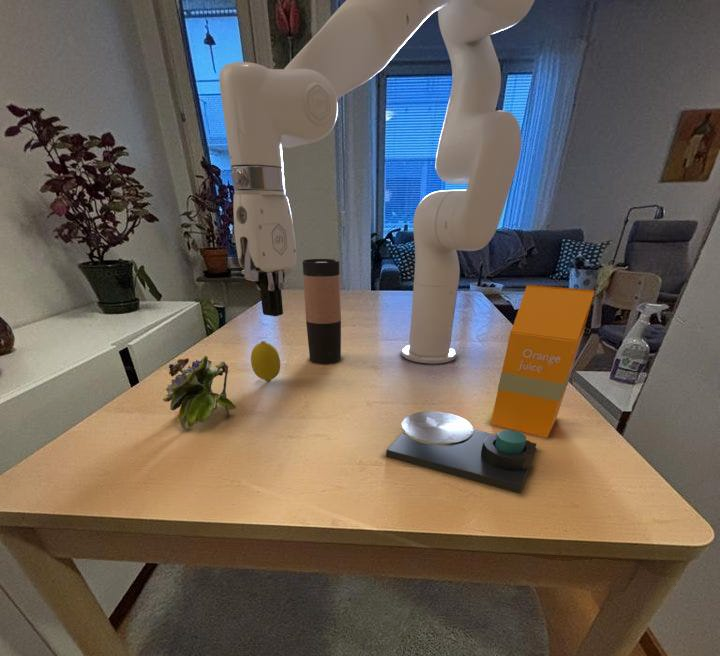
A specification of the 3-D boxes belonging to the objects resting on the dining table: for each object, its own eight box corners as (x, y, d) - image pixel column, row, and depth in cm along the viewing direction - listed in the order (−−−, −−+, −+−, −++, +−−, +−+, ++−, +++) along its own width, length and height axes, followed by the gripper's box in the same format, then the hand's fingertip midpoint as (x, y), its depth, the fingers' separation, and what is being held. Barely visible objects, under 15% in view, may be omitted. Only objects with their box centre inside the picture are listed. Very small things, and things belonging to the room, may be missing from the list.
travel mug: (302, 361, 89) (294, 261, 78) (318, 352, 95) (313, 258, 84) (333, 366, 87) (329, 263, 76) (347, 356, 93) (345, 259, 81)
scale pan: (416, 408, 61) (417, 406, 61) (481, 422, 57) (481, 420, 57) (389, 435, 54) (390, 432, 54) (461, 453, 50) (461, 450, 50)
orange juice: (547, 438, 60) (592, 294, 48) (489, 424, 63) (518, 288, 52) (556, 419, 65) (598, 286, 54) (503, 407, 69) (532, 281, 58)
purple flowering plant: (197, 438, 70) (194, 372, 71) (252, 433, 68) (249, 364, 68) (149, 429, 59) (146, 351, 60) (213, 422, 57) (209, 340, 57)
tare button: (498, 439, 54) (500, 427, 53) (525, 445, 53) (528, 433, 52) (492, 450, 51) (494, 438, 50) (520, 457, 50) (524, 445, 49)
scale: (417, 423, 64) (419, 406, 62) (536, 451, 56) (542, 432, 55) (385, 457, 55) (386, 438, 53) (521, 494, 48) (527, 474, 46)
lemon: (276, 388, 76) (271, 346, 71) (249, 386, 77) (242, 344, 72) (286, 378, 80) (282, 338, 76) (261, 376, 81) (255, 336, 77)
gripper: (245, 180, 52) (263, 326, 62) (307, 186, 63) (314, 309, 73) (203, 181, 54) (226, 320, 65) (269, 187, 66) (281, 305, 76)
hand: (273, 314), depth 69 cm, fingers closed
